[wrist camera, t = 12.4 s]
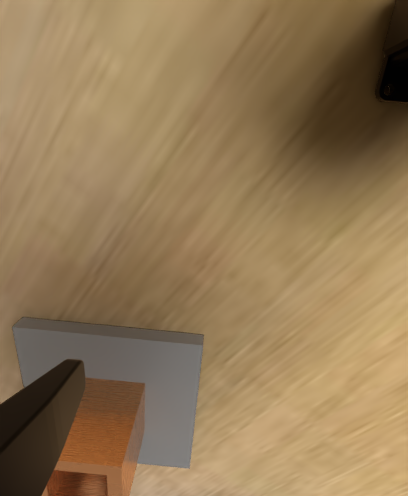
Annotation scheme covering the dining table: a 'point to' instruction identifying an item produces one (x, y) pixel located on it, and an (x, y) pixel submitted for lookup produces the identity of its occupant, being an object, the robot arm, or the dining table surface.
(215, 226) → the dining table surface
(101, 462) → the hollow wooden cube
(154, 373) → the stand
